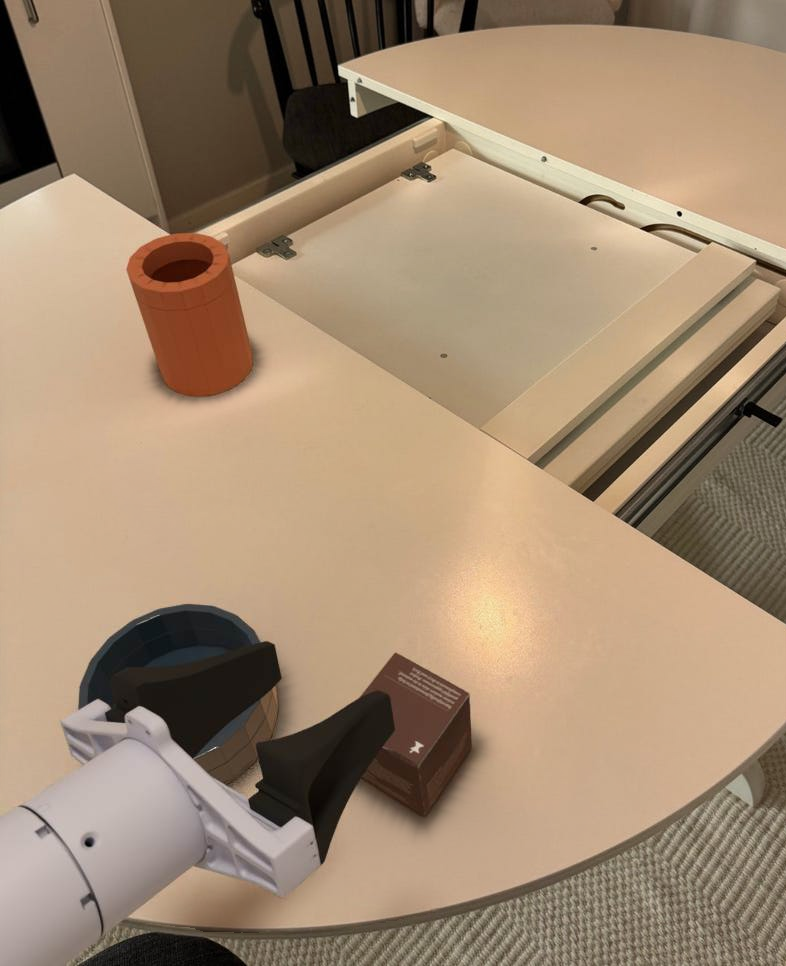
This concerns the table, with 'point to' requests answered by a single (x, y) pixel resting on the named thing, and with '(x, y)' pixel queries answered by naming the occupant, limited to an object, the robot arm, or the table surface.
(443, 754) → the box
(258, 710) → the bowl
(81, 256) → the table surface
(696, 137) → the table surface
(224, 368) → the jar
